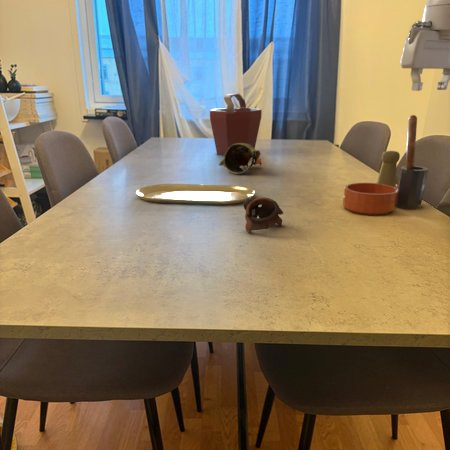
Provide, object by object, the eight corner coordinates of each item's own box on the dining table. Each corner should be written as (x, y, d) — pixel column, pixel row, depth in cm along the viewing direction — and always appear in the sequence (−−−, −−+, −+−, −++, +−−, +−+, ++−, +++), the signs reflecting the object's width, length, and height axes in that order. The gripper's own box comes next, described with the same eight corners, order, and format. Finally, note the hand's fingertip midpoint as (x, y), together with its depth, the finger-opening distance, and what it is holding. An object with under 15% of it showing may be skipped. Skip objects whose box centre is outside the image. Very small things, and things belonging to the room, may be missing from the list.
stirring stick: (410, 200, 118) (415, 114, 108) (413, 202, 116) (418, 114, 106) (402, 201, 118) (407, 115, 108) (405, 203, 116) (410, 116, 106)
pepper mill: (377, 189, 135) (382, 152, 130) (374, 184, 140) (379, 149, 135) (397, 189, 134) (403, 152, 129) (393, 185, 139) (400, 149, 134)
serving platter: (147, 188, 138) (147, 183, 137) (256, 191, 133) (257, 185, 133) (127, 203, 121) (127, 197, 121) (251, 207, 117) (251, 201, 116)
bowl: (385, 202, 121) (388, 182, 118) (402, 216, 109) (406, 194, 106) (337, 202, 121) (339, 182, 118) (349, 216, 109) (352, 194, 106)
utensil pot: (414, 202, 121) (421, 165, 116) (424, 209, 115) (433, 170, 110) (390, 202, 121) (396, 165, 116) (399, 209, 115) (406, 170, 110)
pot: (275, 143, 162) (255, 132, 146) (279, 173, 163) (259, 165, 147) (234, 155, 171) (212, 146, 155) (238, 184, 171) (216, 177, 155)
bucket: (240, 159, 184) (240, 94, 172) (198, 155, 195) (196, 94, 183) (267, 151, 202) (269, 92, 191) (227, 148, 213) (227, 92, 201)
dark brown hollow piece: (293, 230, 101) (291, 204, 94) (264, 254, 99) (260, 230, 92) (258, 207, 107) (253, 181, 100) (230, 229, 105) (223, 205, 98)
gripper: (424, 18, 91) (411, 91, 97) (482, 23, 100) (466, 90, 107) (400, 21, 96) (389, 90, 102) (457, 26, 105) (443, 89, 111)
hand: (429, 90), depth 105 cm, fingers open, 8 cm apart
